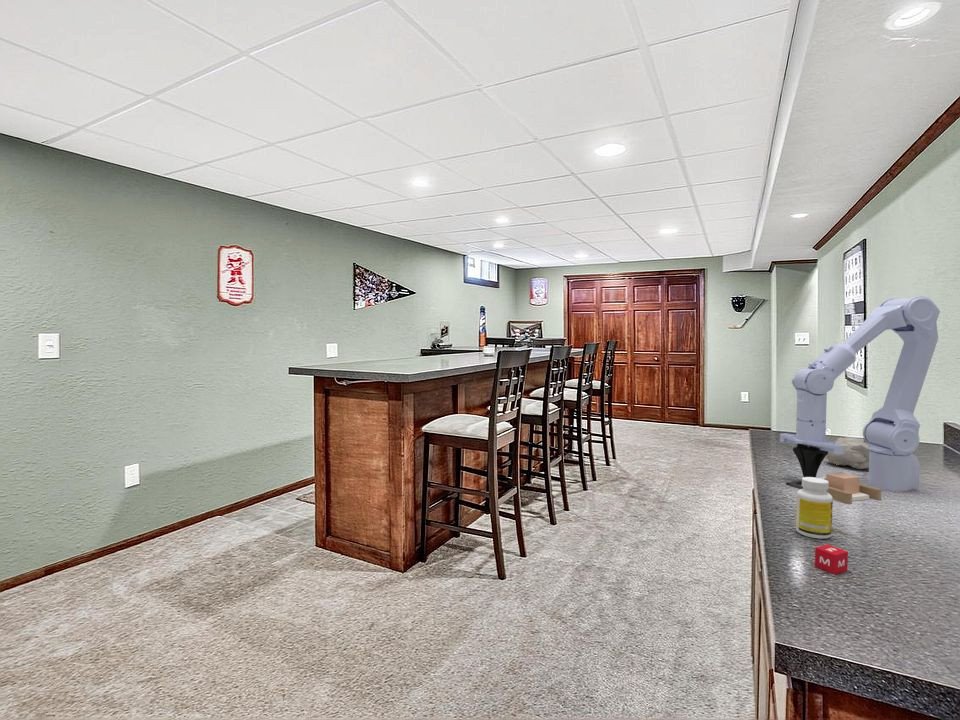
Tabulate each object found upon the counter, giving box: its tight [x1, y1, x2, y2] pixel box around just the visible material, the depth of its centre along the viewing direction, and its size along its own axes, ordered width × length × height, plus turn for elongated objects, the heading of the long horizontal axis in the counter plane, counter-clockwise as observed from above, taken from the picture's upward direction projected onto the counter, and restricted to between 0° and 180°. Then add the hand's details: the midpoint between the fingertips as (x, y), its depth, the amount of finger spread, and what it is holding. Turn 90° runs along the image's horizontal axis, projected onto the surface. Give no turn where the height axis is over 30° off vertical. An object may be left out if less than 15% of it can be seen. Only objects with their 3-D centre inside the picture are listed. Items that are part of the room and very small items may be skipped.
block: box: [826, 471, 861, 494], centre depth 110 cm, size 4×4×4 cm
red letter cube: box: [814, 544, 849, 575], centre depth 77 cm, size 3×3×3 cm
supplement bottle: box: [795, 476, 834, 540], centre depth 90 cm, size 5×5×10 cm
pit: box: [785, 480, 803, 490], centre depth 117 cm, size 10×5×1 cm, turn 108°
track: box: [827, 483, 882, 505], centre depth 106 cm, size 10×16×3 cm, turn 18°
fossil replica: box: [825, 437, 870, 470], centre depth 137 cm, size 12×8×10 cm
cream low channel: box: [818, 476, 870, 502], centre depth 110 cm, size 6×7×3 cm
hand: (809, 478), depth 117 cm, fingers closed
